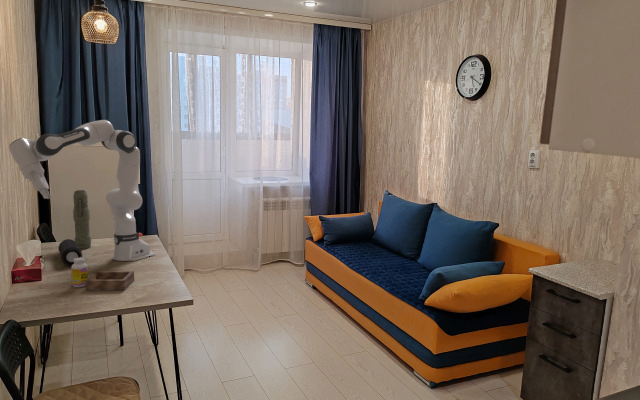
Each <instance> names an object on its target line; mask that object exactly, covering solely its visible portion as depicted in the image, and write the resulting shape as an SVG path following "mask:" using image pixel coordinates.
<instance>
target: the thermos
mask: <svg viewBox="0 0 640 400" xmlns="http://www.w3.org/2000/svg"><path fill="white" fill-rule="evenodd" d="M72 199H73V204H74V205H73V210H72V215H73V216H72V217H73V222H74V234H75V236H74V241H75V242H76V243H77V244H78V246H79V248H80V250H87V249H90V247H91V248H92V238H91V234H90V233H91V232H90V218H91V217H90V208H89V203H88V202H89V201H88V200H89V199H88V193H87V191H86V190H85V189H78V190H75V191H74V193H73V197H72Z"/></svg>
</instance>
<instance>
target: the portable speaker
mask: <svg viewBox="0 0 640 400" xmlns="http://www.w3.org/2000/svg"><path fill="white" fill-rule="evenodd" d="M57 248H58V252H59V255H60V257H61V260H62V261H61V262H62V263H63V264H65V265H66V266H69V267H70V266H71V267H72V265H73V264H74V259H75V258H83V252H82V249H80V248H79V246H78V244H77V243H76V242H75V239H69V238H67V239H64V240H62V241H61V242H60V243H59V245H58V247H57Z"/></svg>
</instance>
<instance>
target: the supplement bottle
mask: <svg viewBox="0 0 640 400" xmlns="http://www.w3.org/2000/svg"><path fill="white" fill-rule="evenodd" d="M85 261H86V258H85V257H82V258H75V259H74V264H73V265H71V285H72V287H73V288H84V287H85V280H89V273H88V269H89V268H88V264H87V262H85Z"/></svg>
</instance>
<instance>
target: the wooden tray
mask: <svg viewBox="0 0 640 400" xmlns="http://www.w3.org/2000/svg"><path fill="white" fill-rule="evenodd" d="M134 281H135V271H133V270H132V271H131V270H129V271H128V270H127V271H125V270H124V271H123V270H121V271H120V270H119V271H117V270H113V271H112V270H110V271H108V270H106V271H105V270H104V271H103V270H102V271H95V279H88V280H85V286H84V287H85V291H126V290H127V289H128V288H129V285H130V286H131V284H132V283H134Z"/></svg>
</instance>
